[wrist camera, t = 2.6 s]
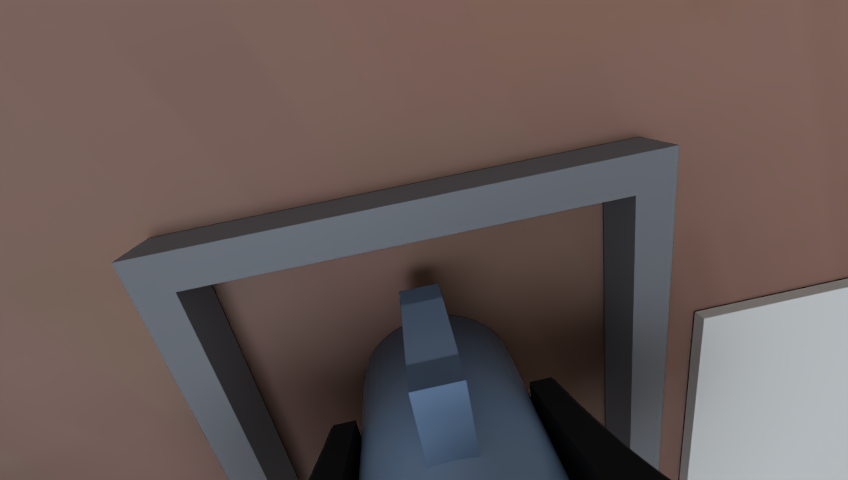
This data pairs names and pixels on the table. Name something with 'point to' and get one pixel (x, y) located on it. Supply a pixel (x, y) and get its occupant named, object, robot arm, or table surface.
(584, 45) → the table surface
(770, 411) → the mat
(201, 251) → the grey square frame
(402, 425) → the blue-grey mug
